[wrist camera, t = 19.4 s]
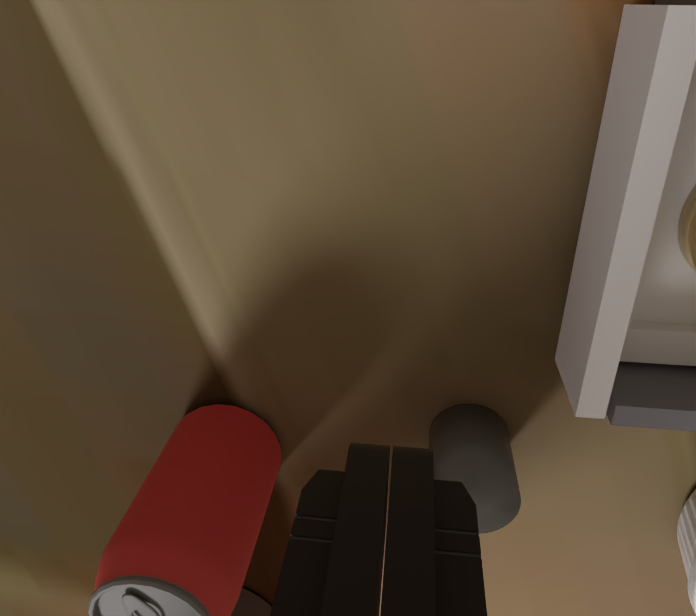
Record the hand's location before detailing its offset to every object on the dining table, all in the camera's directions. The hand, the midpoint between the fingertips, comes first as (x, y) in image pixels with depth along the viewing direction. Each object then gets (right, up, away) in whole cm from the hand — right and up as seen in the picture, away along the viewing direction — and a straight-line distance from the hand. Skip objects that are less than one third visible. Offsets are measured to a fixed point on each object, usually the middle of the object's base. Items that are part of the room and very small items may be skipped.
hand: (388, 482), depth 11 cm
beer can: (-8, -5, +25) cm, 27 cm away
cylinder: (+6, -4, +23) cm, 24 cm away
